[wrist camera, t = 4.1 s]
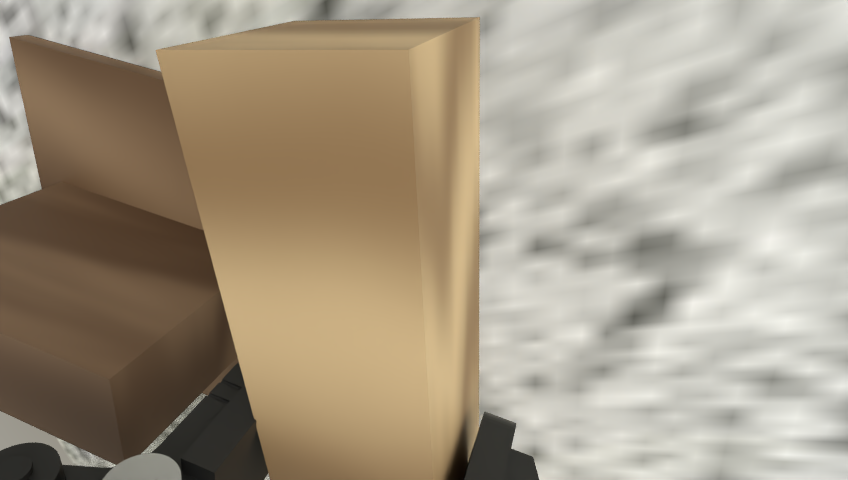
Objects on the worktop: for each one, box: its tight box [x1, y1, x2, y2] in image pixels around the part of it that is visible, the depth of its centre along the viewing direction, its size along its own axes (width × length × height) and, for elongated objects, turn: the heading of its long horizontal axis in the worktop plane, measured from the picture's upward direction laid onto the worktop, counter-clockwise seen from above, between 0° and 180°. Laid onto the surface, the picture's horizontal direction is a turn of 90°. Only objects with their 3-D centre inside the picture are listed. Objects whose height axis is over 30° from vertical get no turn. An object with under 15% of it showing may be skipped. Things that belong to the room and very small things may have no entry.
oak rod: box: [156, 17, 480, 480], centre depth 12 cm, size 16×4×4 cm, turn 2°
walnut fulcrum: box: [0, 35, 239, 465], centre depth 16 cm, size 12×10×7 cm
